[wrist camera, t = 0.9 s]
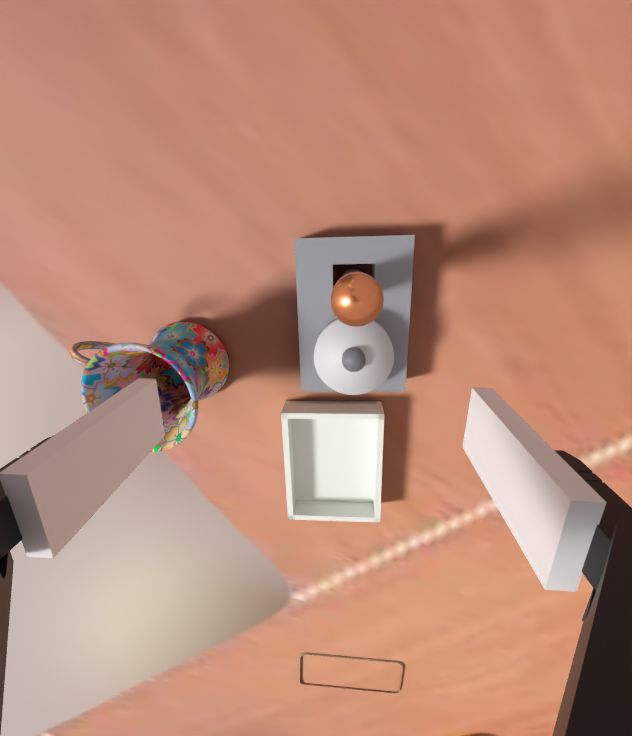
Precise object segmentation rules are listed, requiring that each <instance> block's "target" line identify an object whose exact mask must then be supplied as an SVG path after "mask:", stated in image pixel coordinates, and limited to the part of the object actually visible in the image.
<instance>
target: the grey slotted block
mask: <svg viewBox="0 0 632 736" xmlns="http://www.w3.org/2000/svg"><path fill="white" fill-rule="evenodd" d="M294 241H295V264H296V286H297V309H298V332H299V355H300V377H301V391H337V392H340V393H343V394H348V395H359V394H364V393H367V392H370V391H392V392H405V391H406V374H407V357H408V341H409V324H410V307H411V291H412V274H413V257H414V241H415V235H392V236H358V237H325V238H294ZM334 264H372V277H373V278H374V279H375V280H376V281H377V282H378V284H379V285H380V287H381V289H382V291H383V296H384V303H383V307H382V310H381V312H380V314H379V315H378V317H377V318H376V319H375V320H374V321H372V322H371V323H369V324H367V325H364V326H360V327H353V326H349V325H346V324H344V323H342V322H341V321H340V320H338V318H337V317H336V316H335V315H334V313H333V311H332V308H331V294H332V290H333V287H334Z"/></svg>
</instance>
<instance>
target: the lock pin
mask: <svg viewBox="0 0 632 736" xmlns="http://www.w3.org/2000/svg"><path fill="white" fill-rule="evenodd" d="M383 303H384V296H383V291H382V289H381V287H380V285H379V284H378V282H377V281H376V280H375V279H374V278H373V277H371V276H370V275H368V274H366V273H362V272H361V271H359V270H357V269H349V270H347V271H345V272H344V273H343V274H342V276H341V278H340V279H339V280H338V281H337V282H336V284H335V285H334V287H333V290H332V294H331V308H332V311H333V313H334V315H335V316H336V317H337V318H338V320H340V321H341V322H342V323H344V324H346V325H349V326H353V327H360V326H364V325H367V324H369V323H371V322H372V321H374V320H375V319H376V318H377V317H378V315H379V314H380V312H381V310H382V307H383Z"/></svg>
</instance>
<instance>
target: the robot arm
mask: <svg viewBox="0 0 632 736" xmlns="http://www.w3.org/2000/svg"><path fill="white" fill-rule="evenodd" d="M164 436H165V432H164V426H163V419H162V413H161V407H160V401H159V395H158V388H157V382H156V379H142V378H139V379H137V380H136V381H134V382H133V383H131V384H130V385H128V386H127V387H125V388H124V389H122V390H121V391H119V392H118V393H116V394H115V395H113V396H112V397H110V398H109V399H107V400H106V401H105V402H103V403H102V404H100V405H99V406H97V407H96V408H94V409H93V410H91V411H90V412H88V413H87V414H85V415H84V416H82V417H81V418H79V419H78V420H76V421H75V422H73V423H72V424H71V425H69V426H68V427H66V428H65V429H63V430H62V431H60V432H59V433H57V434H56V435H54V436H52V437H49V438H47V439H45V440H43V441H42V442H40V443H38V444H37V445H36V446H34V447H32V448H31V450H30V451H27V452H25V453H24V454H22V455H20V456H19V458H16V459H14V460H13V461H11V462H10V463H8V464H7V465H5V466H4V467H3V468H1V469H0V732H1V720H2V706H3V692H4V680H5V667H6V654H7V640H8V626H9V614H10V601H11V600H10V599H11V587H12V574H13V559H12V556H11V553H10V550H11V549H12V548H13V547H14V546H15V545H17V544H18V543H19V542H20V541H21V540H22V543H23V546H24V548H25V551H26V554H27V556H28V557H40V558H54V557H55V556H56V555H57V554H58V553H59V552H60V551H61V549H62V548H63V547H64V546H65V545H66V544H67V543H68V542H69V541H70V540H71V539H72V537H73V536H74V535H75V534H76V533H77V532H78V531H79V530H80V529H81V528H82V526H83V525H84V524H85V523H86V522H87V521H88V520H89V519H90V518H91V517H92V516H93V514H94V513H95V512H96V511H97V510H98V509H99V508H100V507H101V506H102V504H103V503H104V502H105V501H106V500H107V499H108V498H109V497H110V496H111V494H113V492H114V491H115V490H116V489H117V488H118V487H119V486H120V485H121V484H122V483H123V481H124V480H125V479H126V478H127V477H128V476H129V475H130V474H131V473H132V472H133V470H134V469H135V468H136V467H137V466H138V465H139V464H140V463H141V462H142V460H143V459H144V458H145V457H146V456H147V455H148V454H149V453H150V452H151V451H152V450H153V448H154V447H155V446H156V445H157V444H158V443H159V442H160V441H161V440H162V439H163V437H164ZM463 449H464V451H465V452H466V454H467V456H468V457H469V459H470V461H471V463H472V464H473V466H474V468H475V470H476V471H477V473H478V475H479V476H480V478H481V480H482V482H483V483H484V485H485V487H486V489H487V490H488V492H489V494H490V496H491V497H492V499H493V501H494V502H495V504H496V506H497V508H498V509H499V511H500V513H501V515H502V516H503V518H504V520H505V521H506V523H507V525H508V527H509V528H510V530H511V532H512V534H513V535H514V537H515V539H516V541H517V542H518V544H519V546H520V547H521V549H522V551H523V553H524V554H525V556H526V558H527V560H528V561H529V563H530V565H531V566H532V568H533V570H534V572H535V573H536V575H537V577H538V579H539V580H540V582H541V584H542V585H543V587H544V589H545V590H559V591H574V592H577V589H578V586H579V583H580V580H581V577H582V574H584V575H585V577H586V578H587V580H588V581H589V582H590V584H591V585H592V586H593V591H592V594H591V596H590V599H589V602H588V605H587V608H586V610H585V613H584V616H583V619H582V621H584V622H583V625H582V629H581V633H580V636H579V640H578V644H577V647H576V651H575V655H574V658H573V662H572V666H571V670H570V673H569V677H568V681H567V684H566V688H565V692H564V695H563V699H562V703H561V706H560V710H559V714H558V717H557V721H556V725H555V728H554V732H553V736H632V508H631V507H630V506H629V505H628V504H627V503H626V502H624V501H623V500H622V499H621V498H620V497H619V496H618V495H617V494H616V493H615V492H614V491H613V490H612V489H610V488H609V487H608V486H607V485H606V484H605V483H602V480H601V479H600V478H599V477H598V476H596V475H595V474H593V473H592V471H591V470H590V469H589V468H588V467H587V466H586V465H585V464H584V463H582V462H581V461H580V460H579V459H577V458H575V457H573V456H572V455H570V454H568V453H566V452H565V451H557V450H553V449H552V448H551V447H550V446H549V445H548V444H547V443H546V442H545V441H544V440H543V439H542V438H541V437H540V436H539V435H538V434H537V433H536V432H535V431H534V430H533V429H532V428H531V427H530V426H529V425H528V424H527V423H526V422H525V421H524V420H523V419H522V418H521V417H520V416H519V415H518V414H517V413H516V412H515V411H514V410H513V409H512V408H511V407H510V406H509V405H508V404H507V403H506V402H505V401H504V400H503V399H502V398H501V397H500V396H499V395H498V394H497V393H496V392H495V391H494V390H493V389H492V388H472V392H471V398H470V404H469V411H468V417H467V423H466V429H465V435H464V442H463Z"/></svg>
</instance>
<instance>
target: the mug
mask: <svg viewBox="0 0 632 736" xmlns="http://www.w3.org/2000/svg"><path fill="white" fill-rule="evenodd" d="M84 349H102V350H101V351H99V352H98V353H97V354H96V355H94V356H93V357H92V359H89V358H86V357H84V356H82V355H81V354H80V353H78V351H79V350H84ZM70 355H71V357H72V358H73V359H74V360H75V361H76V362H78V363H79V364H81V365H83V366H86V368H85V370H84V372H83V376H82V381H81V394H82V399H83V403H84V406H85V408H86V410H87V413H88V412H90V411H91V410H93V409H94V408H96V407H97V406H99V405H100V404H102V403H103V402H105V401H106V400H107V399H109V398H110V397H112V396H113V395H115V394H116V393H118V392H119V391H121V390H122V389H124V388H125V387H127V386H128V385H130V384H131V383H133V382H134V381H136V380H137V379H139V378H142V379H156V382H157V388H158V395H159V401H160V407H161V413H162V419H163V426H164V432H165V436H164V437H163V439H162V440H161V441H160V442H159V443H158V444H157V445H156V446H155V447H154V448H153V450H152V451H151V452H158V451H163V450H167V449H170V448H172V447H174V446H176V445H178V444H179V443H181V442H182V441H183V440H184V439H185V438H186V437H187V436H188V435H189V434H190V432H191V431H192V429H193V427H194V425H195V423H196V419H197V414H198V400H201V399H205V398H208V397H210V396H212V395H214V394H215V393H217V392H218V391H219V390H220V389H221V388H222V386H223V385H224V383H225V382H226V379H227V376H228V372H229V359H228V355H227V352H226V350H225V348H224V346H223V344H222V343H221V341H220V340H219V339H218V337H217V336H216V335H215V334H213V333H212V332H211V331H210V330H208V329H207V328H205V327H203V326H201V325H198V324H195V323H191V322H176V323H172V324H169V325H167V326H165V327H163V328H162V329H160V330H159V331H158V332H157V333H156V334H155V336H154V337H153V339H152V340H151V343H150V345H144V344H139V343H119V344H115V343H108V342H96V341H87V342H79V343H76V344H74V345H73V346H72V347H71V350H70Z"/></svg>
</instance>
